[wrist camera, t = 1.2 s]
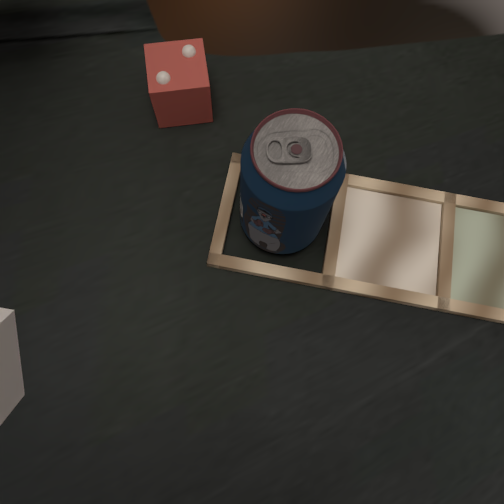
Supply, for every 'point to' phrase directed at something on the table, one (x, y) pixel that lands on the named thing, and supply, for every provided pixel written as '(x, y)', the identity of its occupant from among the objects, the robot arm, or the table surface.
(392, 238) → the tan flat wooden frame
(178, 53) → the die
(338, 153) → the soda can
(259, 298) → the table surface
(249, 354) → the table surface
